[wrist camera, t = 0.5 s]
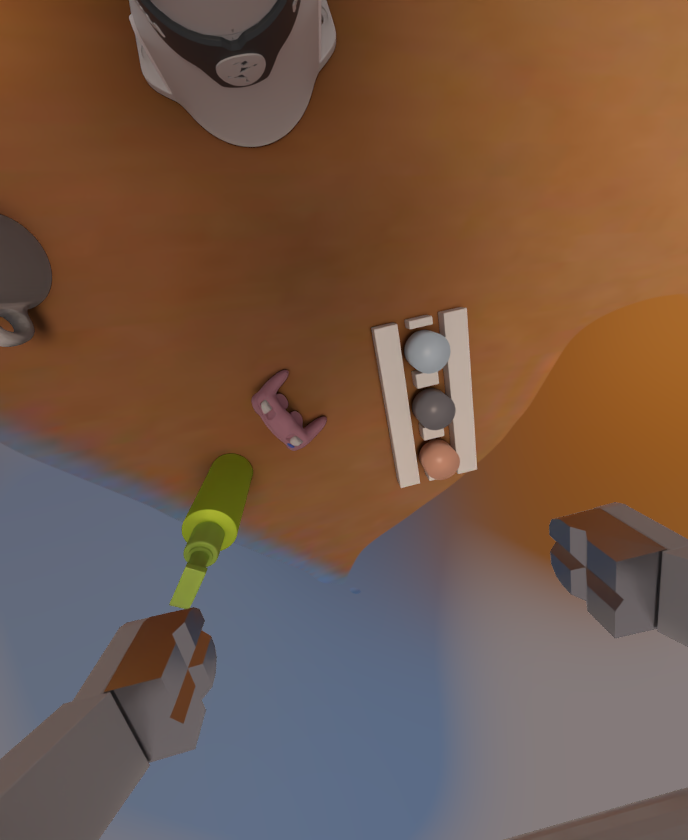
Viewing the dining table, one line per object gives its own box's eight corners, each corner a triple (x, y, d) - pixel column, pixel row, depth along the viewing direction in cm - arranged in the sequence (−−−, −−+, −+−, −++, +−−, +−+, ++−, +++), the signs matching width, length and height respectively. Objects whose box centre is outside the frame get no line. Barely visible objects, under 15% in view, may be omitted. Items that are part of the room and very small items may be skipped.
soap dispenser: (203, 486, 50) (144, 604, 32) (219, 447, 48) (167, 549, 30) (241, 499, 51) (207, 619, 33) (258, 462, 50) (232, 567, 31)
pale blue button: (401, 334, 43) (408, 338, 41) (439, 325, 44) (448, 328, 41) (406, 371, 45) (413, 377, 43) (443, 363, 45) (452, 368, 43)
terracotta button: (416, 443, 50) (423, 453, 47) (450, 435, 50) (458, 444, 47) (420, 472, 52) (427, 483, 49) (452, 464, 52) (461, 474, 49)
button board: (370, 327, 44) (373, 329, 42) (459, 307, 44) (466, 308, 43) (397, 480, 53) (400, 487, 52) (471, 462, 54) (477, 469, 52)
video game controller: (264, 378, 47) (238, 407, 41) (286, 364, 44) (262, 392, 39) (308, 430, 50) (290, 462, 45) (331, 419, 48) (315, 452, 42)
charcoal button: (409, 392, 46) (416, 399, 44) (445, 384, 47) (454, 390, 44) (414, 425, 48) (421, 433, 46) (448, 417, 49) (457, 425, 46)
